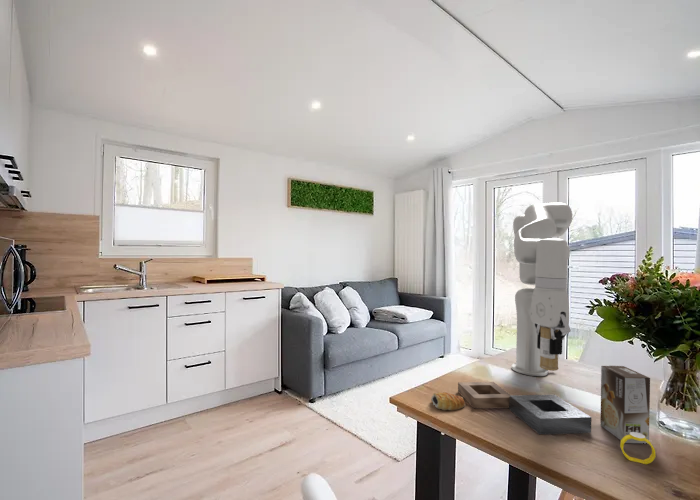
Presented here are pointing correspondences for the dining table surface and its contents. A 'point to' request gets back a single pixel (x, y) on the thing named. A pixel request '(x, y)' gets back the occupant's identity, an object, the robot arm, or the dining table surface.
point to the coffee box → (625, 402)
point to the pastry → (447, 401)
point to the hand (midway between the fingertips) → (549, 350)
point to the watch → (640, 438)
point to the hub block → (549, 414)
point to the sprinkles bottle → (547, 351)
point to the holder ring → (484, 394)
